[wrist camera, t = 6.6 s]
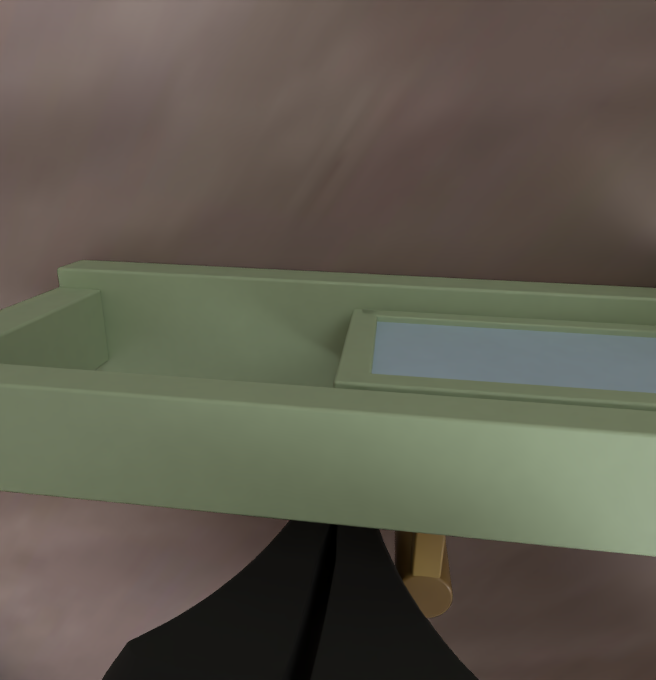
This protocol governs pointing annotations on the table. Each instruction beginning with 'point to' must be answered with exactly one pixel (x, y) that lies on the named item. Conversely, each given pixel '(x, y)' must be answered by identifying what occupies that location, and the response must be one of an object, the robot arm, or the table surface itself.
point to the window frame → (340, 400)
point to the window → (424, 570)
